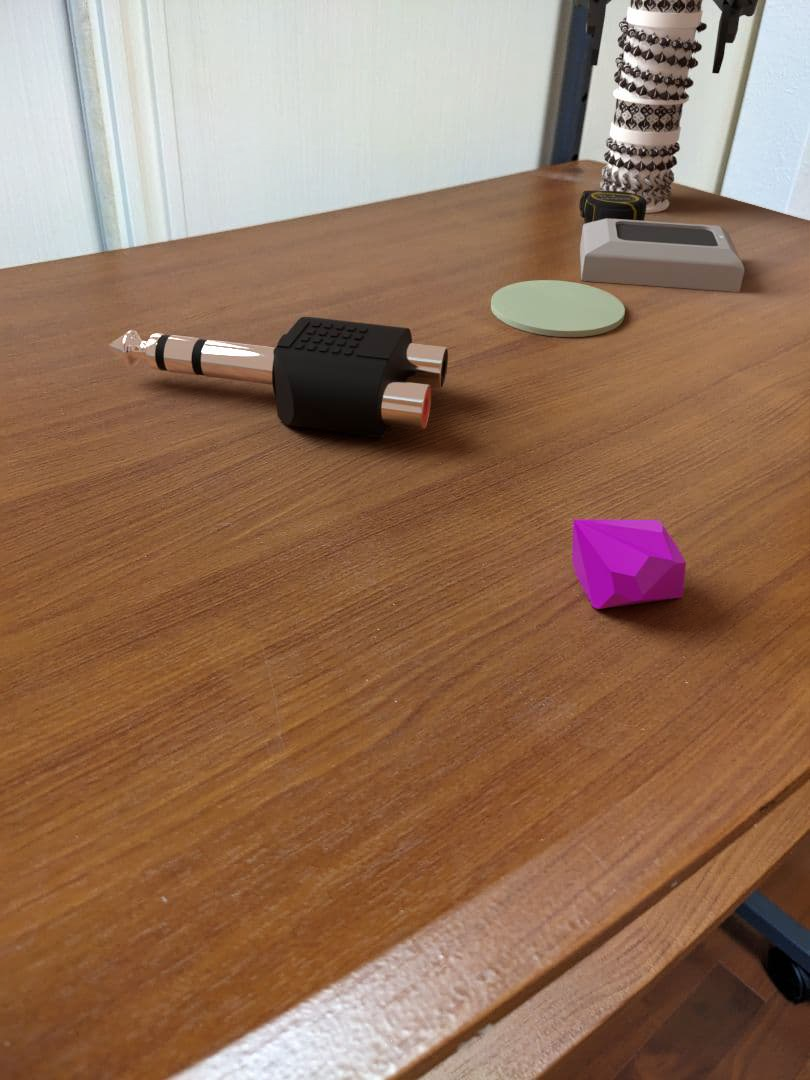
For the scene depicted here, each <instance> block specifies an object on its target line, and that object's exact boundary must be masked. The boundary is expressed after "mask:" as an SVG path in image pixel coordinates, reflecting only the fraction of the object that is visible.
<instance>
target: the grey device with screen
mask: <svg viewBox="0 0 810 1080" xmlns="http://www.w3.org/2000/svg"><path fill="white" fill-rule="evenodd" d="M579 257H580V258H579V259H580V279H581V281H582V282H594V283H607V284H608V283H609V284H622V285H635V286H647V287H650V286H651V287H662V288H663V287H664V288H677V289H689V290H690V289H691V290H702V291H703V290H705V291H716V292H717V291H718V292H732V293H740V291H741V287H742V284H743V279H744V275H745V266H744V263H743V262H742V259H741V257H740V254H739V253H738V251H737V248H736V246H735V244H734V242H733V240H732V238H731V236H730V234H729V232H728V231H727V230H726V228H724V227H722V226H721V225H715V224H713V225H712V224H699V223H698V224H697V223H684V222H683V223H682V222H681V223H680V222H670V221H669V222H667V221H666V222H665V221H652V220H651V221H650V220H644V221H638V220H623V219H608V218H606V219H602V220H598V221H594V222H590V223H586V224H585V223H584V224H582V229H581V238H580V244H579Z"/></svg>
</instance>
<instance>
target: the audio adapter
mask: <svg viewBox="0 0 810 1080" xmlns="http://www.w3.org/2000/svg"><path fill="white" fill-rule="evenodd" d="M107 346H108V349H109V350H110V351H111V352H113V354H114V355H115V356H116V357H117V358H119V359H120V360H121V362H122V363H124V364H125V365H126V366H128V368H129V367H130V368H134V367H136V366H137V365H138V364H139V362H140V361H141V360H145V362H146V364H147V366H148V367H149V368H150V369H151V370H153V371H160V372H170V373H176V374H184V375H192V376H204V377H208V378H215V379H222V380H223V379H224V380H230V381H239V382H247V383H254V384H255V383H256V384H263V385H271V386H272V390H273V394H274V396H275V400H276V412H277V413H276V414H277V418H278V417H279V419H280V420H281V422H282V423H281V422H280V423H281V424H283V425H285V426H294V427H301V428H308V429H316V430H324V431H331V432H338V433H345V434H353V435H359V436H367V437H374V438H375V437H376V438H383V437H384V435H385V434H386V433H387V430H388V428H389V427H390V426H391V427H398V428H406V429H412V430H420V431H424V430H425V429H426V428H427V425H428V422H429V419H430V414H431V413H430V412H431V406H432V389H436V390H442V389H443V388H444V387H445V384H446V380H447V375H448V368H449V367H448V366H449V348H448V347H447V346H443V345H432V344H425V343H424V344H423V343H416V342H413V335H412V331H411V329H410V328H409V327H402V326H393V325H385V324H384V325H383V324H376V323H366V322H358V321H348V320H341V319H331V318H323V317H313V316H302V317H300V318H299V319H297V321H296V322H295V323H294V324H293V326H291V328H290V329H289V330H288V332H286V333H284V334H282V336H280V337H279V339H278V342H277V344H276V346H275V347H274V346H266V345H257V344H251V343H250V344H249V343H241V342H232V341H225V340H216V339H204V338H200V337H192V336H184V335H183V336H182V335H174V334H172V335H170V334H166V333H158V332H155V333H153V334H150V336H149V337H148V339H147V340H142V337H141V335H140V333H139V332H138V331H137V330H133V329H131V330H129V331H127V332H125V333H124V334H122V335H121V336H119V337H118V338H116V339H114V340H112V341H111V342H109V344H108V345H107Z"/></svg>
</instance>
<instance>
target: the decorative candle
mask: <svg viewBox="0 0 810 1080" xmlns="http://www.w3.org/2000/svg"><path fill="white" fill-rule="evenodd" d="M703 1H704V0H630V3H629V6H627V11H626V12H627V13H626V16H624V18H622V20H620V21H619V23H618V27H619V28H620V31H621V32H622V33H621V35H620V36H619V37H617V46H618V47H619V48H621V50H622V52H621V53H620V54H619V55H618V56H617V57H616V58H615V64H616V67H617V69H618V70H617V71H616V72H614V74H613V77H614V79H613V80H614V82H615V83H616V84H617V85H618V87H617V88H616V89H614V90H613V93H612V96H613V97H614V98H615V106H614V113H613V121H611V122H610V129H609V130H610V131H609V137H608V138H607V139H606V140H605V145H606V147H607V148H608V149H609V150H608V151H606V152H605V153H604V154H603V157H604V158H603V159H604V161H605V162H607V164H606V165H605V166H604V167H602V168H601V172H600V174H601V177H602V181H600V183H599V191H621V192H629V193H633V194H637V195H639V196H642V197H644V198H645V199H646V203H647V204H646V213H645V214H652V213H659V212H662V211H665V210H667V209H668V207H669V206H670V201H669V200H668V199H669V197H670V196H671V195H672V194H673V192H672V183H673V182H675V173H674V172H673V170H672V168H674V167H675V166H677V165H678V160H677V157H676V156H675V154H676V153H678V152H680V149H681V145H680V143H679V142H678V141H679V140H680V135H681V129H682V127H681V126H680V123H681V118H682V115H683V106H684V105H685V103H687V102H689V101H690V95H689V94H688V93H687V91H686V90H688V89H689V88H691V87H693V86H694V80H693V79H691V77H689V72H690V70H692V69H695V68H696V67H698V66H699V61H698V60H697V59H696V58H695V57H693V54H694V55H695V54H696V53H698V52H701V51H702V49H703V46H702V44H701V43H700V42H699V41H698V39H696V33H697V34H698V35H700V33H702V32H704V31H705V30H706V29H707V27H708V25H707V23H705V22H702V17H703V12H704V10H703V9H702V4H703Z"/></svg>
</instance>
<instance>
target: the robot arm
mask: <svg viewBox="0 0 810 1080" xmlns="http://www.w3.org/2000/svg"><path fill="white" fill-rule="evenodd" d="M712 1H713V3H714V4H715V5H716V6H717V8H718V9H719V11H721V14H720V17H719V18H720V19H719V21H718V28H717V34H716V35H717V36H716V42H715V49H714V57H713V63H712V64H713V65H712V72H711V74H718V75H719V74H720V71H721V68H722V65H723V61H724V57H725V52H726V44H733V43H734V42H735V40H736V37H737V33H738V31H739V24H740V17H742V16H745V17H748V18H750V17H752V16H754V14H755V12H756V10H757V7H758V3H759V0H712ZM610 2H612V0H574V5H575V6H576V7H577V8H582V7H584V8H587V15H586V21H585V33H586V35H590V36H593V40H592V48H591V56H590V66H596V67H598V62H599V57H600V49H601V44H602V38H603V31H604V25H605V19H606V12H607V5H608V4H609V3H610Z"/></svg>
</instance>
